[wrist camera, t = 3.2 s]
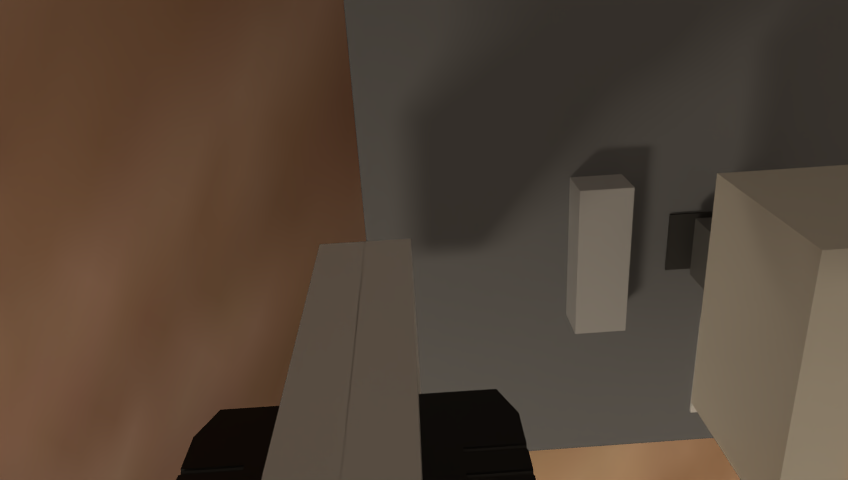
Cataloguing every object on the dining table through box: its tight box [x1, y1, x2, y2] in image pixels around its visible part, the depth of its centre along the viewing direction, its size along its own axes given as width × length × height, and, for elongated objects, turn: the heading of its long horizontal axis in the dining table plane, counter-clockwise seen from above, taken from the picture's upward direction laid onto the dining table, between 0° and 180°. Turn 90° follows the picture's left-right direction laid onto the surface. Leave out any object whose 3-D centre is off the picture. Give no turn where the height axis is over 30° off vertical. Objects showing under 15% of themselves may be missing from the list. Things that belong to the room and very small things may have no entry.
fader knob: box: [690, 165, 848, 480], centre depth 12 cm, size 2×4×5 cm, turn 3°
